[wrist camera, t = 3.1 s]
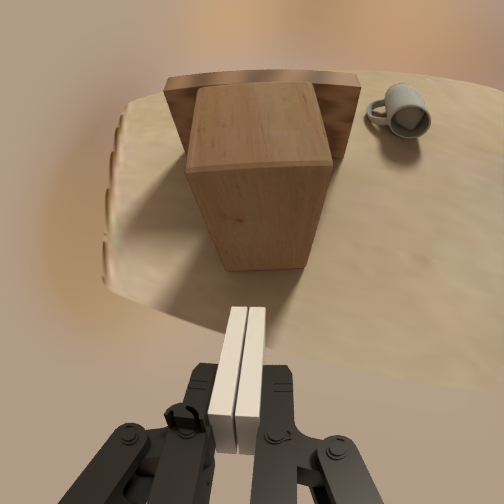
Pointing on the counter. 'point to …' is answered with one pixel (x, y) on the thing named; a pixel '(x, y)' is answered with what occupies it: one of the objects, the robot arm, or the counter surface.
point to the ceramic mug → (402, 111)
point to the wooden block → (259, 171)
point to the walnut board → (324, 82)
